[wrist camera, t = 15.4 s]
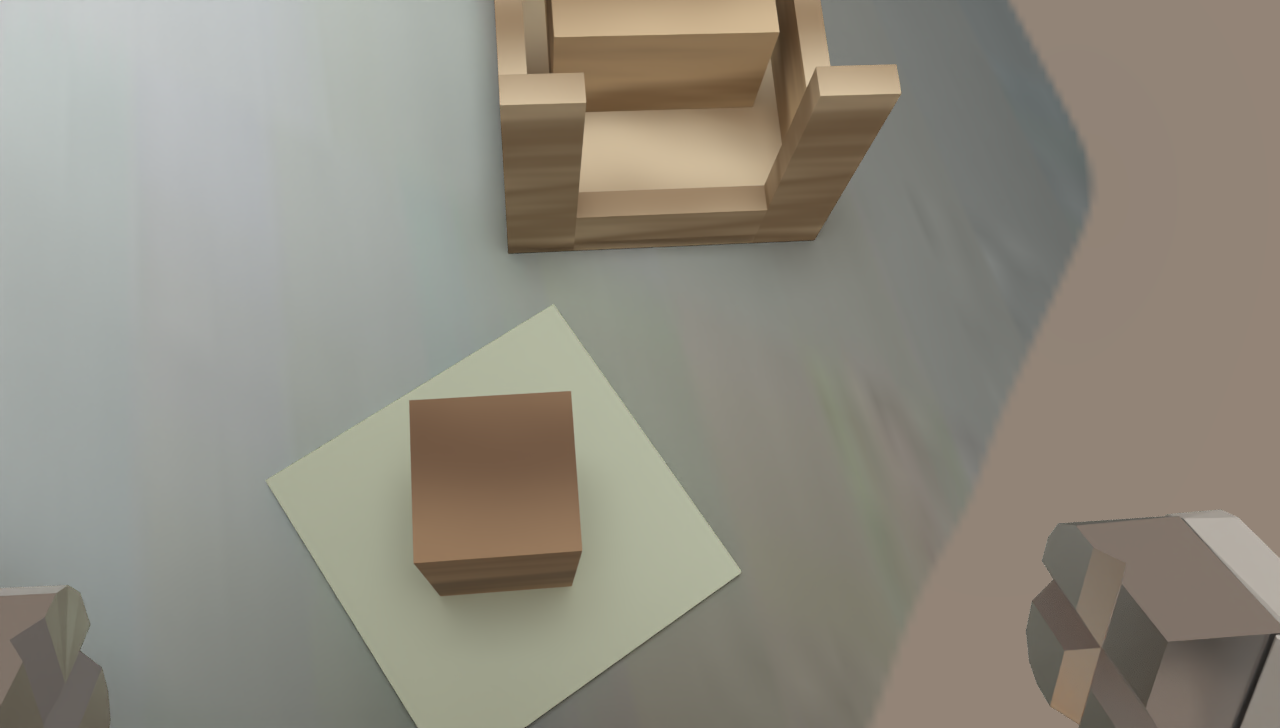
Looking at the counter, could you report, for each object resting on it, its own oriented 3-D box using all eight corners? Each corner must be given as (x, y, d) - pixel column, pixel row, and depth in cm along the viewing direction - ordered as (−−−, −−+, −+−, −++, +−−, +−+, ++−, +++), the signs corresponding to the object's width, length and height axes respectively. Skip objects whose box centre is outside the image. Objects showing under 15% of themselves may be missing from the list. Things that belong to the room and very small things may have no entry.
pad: (268, 483, 39) (265, 480, 39) (553, 308, 42) (553, 304, 42) (451, 779, 37) (450, 780, 37) (739, 573, 40) (742, 572, 40)
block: (571, 586, 39) (582, 550, 30) (440, 596, 38) (413, 563, 30) (563, 459, 40) (570, 390, 32) (436, 467, 40) (408, 400, 31)
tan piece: (814, 239, 44) (901, 93, 34) (508, 253, 43) (499, 105, 32) (777, -21, 48) (846, -227, 37) (493, -16, 46) (481, -228, 36)
